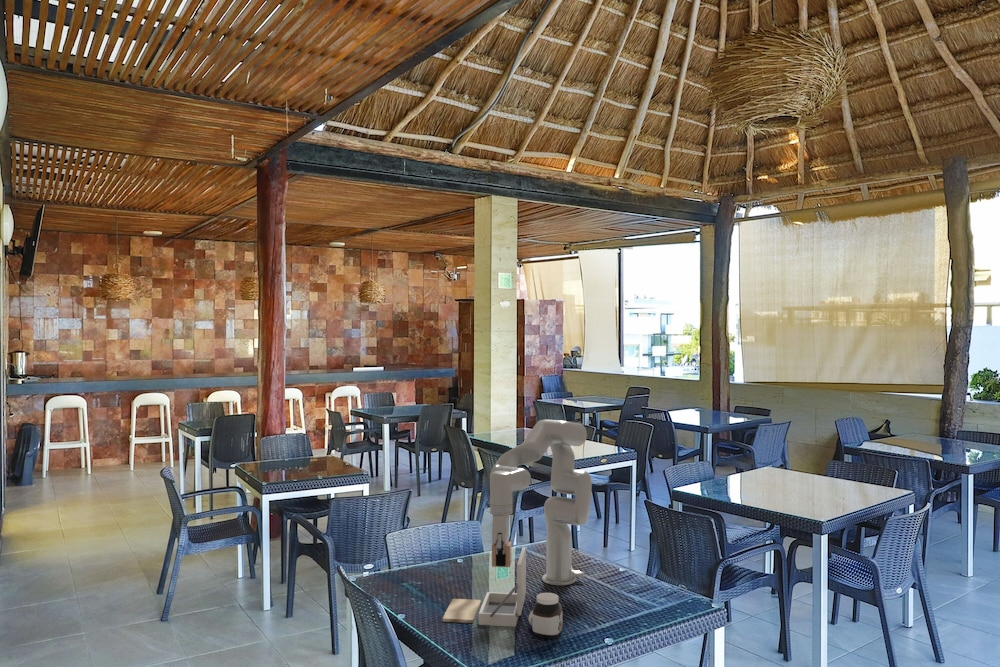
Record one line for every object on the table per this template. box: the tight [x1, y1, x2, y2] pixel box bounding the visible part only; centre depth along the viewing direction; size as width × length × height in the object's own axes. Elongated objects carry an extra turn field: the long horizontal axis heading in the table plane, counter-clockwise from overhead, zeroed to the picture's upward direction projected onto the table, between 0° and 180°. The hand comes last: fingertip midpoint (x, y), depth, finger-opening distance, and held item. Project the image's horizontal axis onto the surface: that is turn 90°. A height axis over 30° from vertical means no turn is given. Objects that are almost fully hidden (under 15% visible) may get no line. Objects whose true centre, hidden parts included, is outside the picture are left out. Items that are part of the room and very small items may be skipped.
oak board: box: [441, 598, 482, 624], centre depth 236 cm, size 10×18×1 cm, turn 173°
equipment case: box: [478, 546, 527, 627], centre depth 234 cm, size 14×21×20 cm, turn 173°
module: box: [491, 540, 512, 568], centre depth 235 cm, size 6×5×7 cm
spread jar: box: [528, 592, 563, 640], centre depth 220 cm, size 12×11×12 cm
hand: (501, 562), depth 235 cm, fingers closed on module, 5 cm apart
